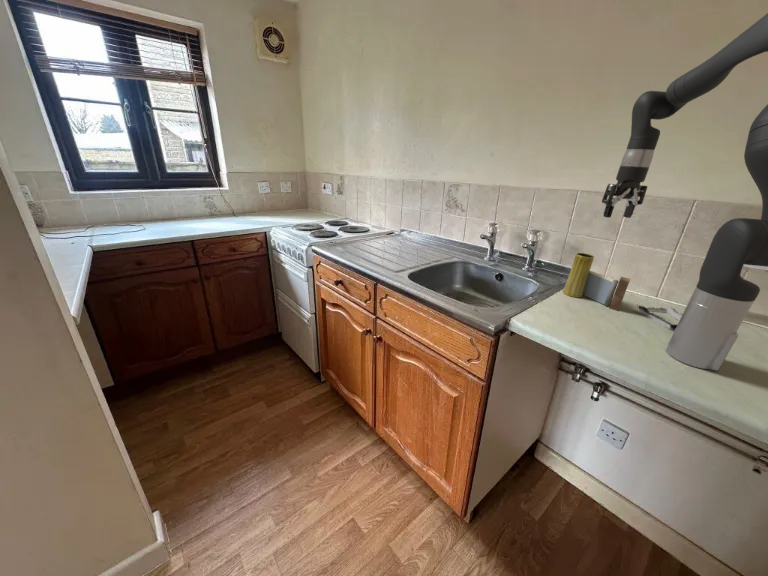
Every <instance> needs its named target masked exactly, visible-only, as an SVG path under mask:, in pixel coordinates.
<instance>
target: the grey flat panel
mask: <svg viewBox="0 0 768 576" xmlns="http://www.w3.org/2000/svg"><path fill="white" fill-rule="evenodd" d="M618 283H619V280H618V279H614V278H611V277H608V276H605V275H603V274H600V273H597V272H596V271H593V270H590V271H589V274H588V277H587V281H586V285H585V289H584V292H583V296H585V297H587V298H589V299H591V300H593V301H595V302H598V303H599V304H602V305H604V306H605V307H610V305H611V302H612V299H613V297H614V294H615V291H616V289H617V286H618Z"/></svg>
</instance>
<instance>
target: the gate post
mask: <svg viewBox="0 0 768 576" xmlns="http://www.w3.org/2000/svg"><path fill="white" fill-rule="evenodd" d="M630 281H631V278H628V277H623V276H621V277H620V278H619V280H618V284H617V287H616V289H615V292H614V295H613V297H612V300H611V303H610V305H609V306H608V308H609V309H610V310H615V311H619V309H620V307H621V304H622V302H623V299H624V296H625V295H626V291H627V289H628V287H629V284H630Z"/></svg>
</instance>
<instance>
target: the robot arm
mask: <svg viewBox="0 0 768 576" xmlns="http://www.w3.org/2000/svg"><path fill="white" fill-rule="evenodd" d="M765 52H766V53H768V12H767V13H766V14H765V15H763V16H762V17H761V18H760V19H758V20H757V21H756V22H754V23H753V24H752V25H751V26H749V27H748V28H747V29H746V30H744V31H743V32H742V33H740V34H739V35H738V36H737V37H735V38H734V39H733V40H731V41H730V42H729V43H727V44H726V45H725V46H724V47H723V48H721V49H720V50H719V51H717V53H714V55H712V56H711V57H710V58H708V59H706V60H705V61H704V62H701V64H699V65H697V66H696V67H693V68H692V69H690V70H689V71H687V72H685V73H684V74H682V75H680V76H678V77H677V78H676V79H675V80H673V81H671V83H670V84H669V85H668V87H667V89H666V90H665V91H660V90H659V91H658V90H648V91H645V92H644V93H641V95H639V96H638V98H637V99H636V100H635V102H634V104H633V107H632V112H631V127H630V128H631V129H630V132H631V133H630V137H629V141H628V143H627V147H626V149H625V152H624V154H623V156H622V159H621V162H620V165H619V168H618V171H617V174H616V177H615V180H616V181H617V182H616V183H615V184H613V183H608V184H607V186H606V188H605V192H604V195H603V197H602V199H601V203H603V204H605V208H604V211H603V217H604V218H608V219H609V218H611V217H612V215H613V211H614V210H615V206H616V204H617V203H618V202H620V201H622V200H626V203H627V205H626V207H625V211H624V213H623V217H624V218H625V219H627V218H628V219H630V218H632V216H633V214H634V211H635V209H636V207H637V206H639V205H641V206H642V204H643V203H644V200H645V199H644V198H645V196H646V193H647V190H648V185H643V184H641V183H643V182H645V181H646V177H647V175H648V172H649V169H650V166H651V164H652V160H653V159H654V153H655V149H656V147H657V144H658V141H659V138H660V135H661V131H660V129H659V128H656V127H653V126H652V121H651V120H664V119H667V118H670V117H671V116H674V115H675V114H676V113H677V112H679V110H681V109H682V108H683V107H685V106H686V105H687V104H688V103H690V102H692V101H693V100H696V99H698V98H699V97H702V96H704V95H705V94H708V93H709V92H711V91H712V90H714V89H715V88H717V87H718V86H720V84H722V83H723V82H724V81H725V80H726V78H727V77H729V75H730V73H731V71H733V70H734V69H735V67H737V66H738V65H739V64H741V63H742V62H744V61H747V60H748V59H751V58H752V57H756V56H758V55H760V54H763V53H765ZM757 114H758V115H757V116H756V117H755V118H754V120H753V121H752V124H751V125H750V127H749V130H748V134H747V139H746V145H745V149H744V155H743V157H744V163H745V166H746V169H747V170H748V173H749V174H750V177H751V179H752V180H753V182H754V183H755V185H756V187H757V188H758V190H759V193H760V196H761V200H762V205H761V206H762V209H761V217H760V219H758V218H746V217H737V218H733V219H729V220H728V221H725V223H723V224H722V225H721V226H720V227H719V228H718V230H717V231H716V233H715V235H714V236H713V239H712V241H711V242H710V246H709V248H708V250H707V253H706V256H705V258H704V260H703V263H702V264H701V267H700V271H699V278H698V281H697V283H696V286H695V289H694V290H693V292H692V295H691V296H690V299H689V300H688V302H687V304H686V307H685V309H684V311H683V313H682V314H683V315H682V317H681V319H680V321H678V323H677V324H676V325H677V327H676V329H675V330H673V331H674V332H673V333H672V335H671V338H670V339H669V341H668V343H667V346H666V348H665V351H666V353H667V354H668V355H670V356H671V357H672V358H674V359H676V361H679V362H681V363H683V364H686V365H688V366H691V367H695V368H698V369H705V370H712V371H715V372H719V370H720V368H721V367H722V364H723V363H724V361H725V359H726V358H727V356H728V355H729V353H730V351H731V349H732V347H733V346H734V344H735V343H736V341H737V339H738V337H739V334H738V330H739V328H740V327H741V325H742V323H743V322H744V320H745V318H746V316H747V314H748V313H749V311H750V309H752V306H753V304H754V302H755V301H756V299H757V298H758V296H759V294H760V292H761V288H760V287H759V286H758V285H757V284H756V283H754V282H752V281H749V280H747V279H745V278H743V277H742V276H741V274H742V273H741V272H742V269H743V267H744V265H747V266H756V267H757V266H759V267H768V103H767V105H765V107H763V109H762V110H761V111H760V112H759V113H757Z"/></svg>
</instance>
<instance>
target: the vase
mask: <svg viewBox="0 0 768 576" xmlns="http://www.w3.org/2000/svg"><path fill="white" fill-rule="evenodd" d="M574 255H575V257H574V259H573V263H572V265H571V269H570V272H569V274H568V277H567V280H566V283H565V285H564V288H563V291H562V293H563V294H565V295H566V296H568V297H572V298H583V296H584V295H583V292H584V289H585V285H586V281H587V277H588V274H589V271H591V268H592V266H593V265H592V264H593V262H594V258H595V256H594V255H593V254H590V253H585V252H576V253H575V254H574Z"/></svg>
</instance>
